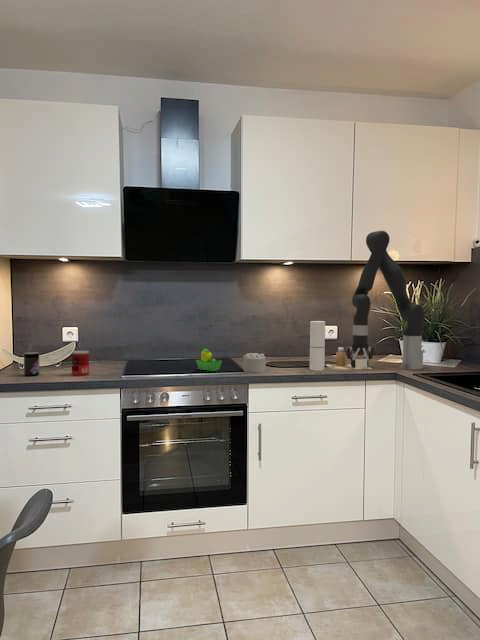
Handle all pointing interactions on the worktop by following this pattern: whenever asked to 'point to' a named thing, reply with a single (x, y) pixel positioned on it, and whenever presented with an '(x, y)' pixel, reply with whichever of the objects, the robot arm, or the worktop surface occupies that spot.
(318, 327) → the cylindrical container
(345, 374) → the worktop surface
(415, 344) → the robot arm
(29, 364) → the supplement container
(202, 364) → the fruit basket
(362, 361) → the white minus sign cube
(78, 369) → the canned food
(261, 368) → the lumpy-topped squat cylinder
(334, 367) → the board
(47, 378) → the worktop surface
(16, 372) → the worktop surface
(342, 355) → the bottle
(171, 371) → the worktop surface
